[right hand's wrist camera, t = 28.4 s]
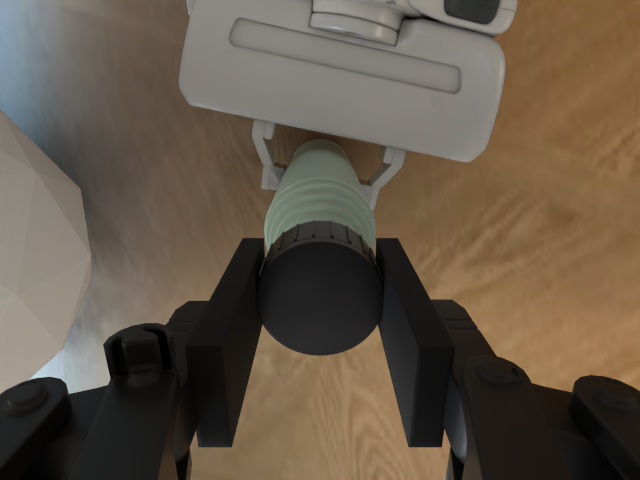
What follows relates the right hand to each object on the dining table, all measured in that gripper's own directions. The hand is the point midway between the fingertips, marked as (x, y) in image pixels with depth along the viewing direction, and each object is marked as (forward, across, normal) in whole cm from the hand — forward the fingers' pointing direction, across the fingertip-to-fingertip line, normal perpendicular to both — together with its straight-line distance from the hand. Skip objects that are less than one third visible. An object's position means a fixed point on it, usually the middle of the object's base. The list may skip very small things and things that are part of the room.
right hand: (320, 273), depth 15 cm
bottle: (+21, 0, 0) cm, 21 cm away
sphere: (+21, -28, -6) cm, 36 cm away
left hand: (+15, 0, -1) cm, 15 cm away
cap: (-2, 0, 0) cm, 2 cm away
